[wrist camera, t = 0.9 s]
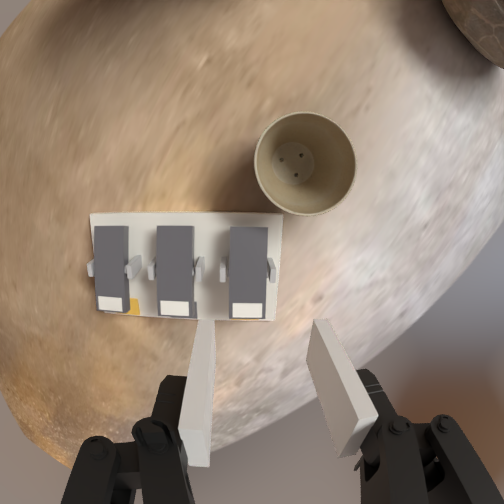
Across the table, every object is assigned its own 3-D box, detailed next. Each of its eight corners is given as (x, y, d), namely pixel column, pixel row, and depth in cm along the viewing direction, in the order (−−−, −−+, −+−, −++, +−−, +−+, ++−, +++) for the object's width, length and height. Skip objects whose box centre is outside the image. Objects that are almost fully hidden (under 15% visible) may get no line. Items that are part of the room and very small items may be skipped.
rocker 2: (158, 226, 30) (154, 225, 28) (196, 226, 30) (194, 225, 29) (159, 312, 31) (155, 315, 29) (196, 313, 31) (194, 318, 29)
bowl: (514, 94, 27) (566, 93, 12) (441, 61, 26) (507, 41, 12) (484, 2, 19) (525, -13, 5) (402, -41, 19) (442, -75, 4)
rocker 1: (98, 226, 30) (92, 225, 28) (130, 226, 30) (125, 225, 28) (101, 307, 30) (95, 310, 28) (131, 310, 30) (126, 313, 29)
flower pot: (273, 219, 33) (283, 234, 26) (235, 143, 30) (234, 137, 23) (345, 184, 32) (371, 190, 25) (311, 110, 29) (331, 97, 22)
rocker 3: (228, 226, 31) (228, 226, 29) (268, 227, 31) (269, 227, 29) (227, 314, 31) (226, 319, 29) (265, 315, 31) (267, 319, 30)
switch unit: (93, 212, 31) (74, 220, 26) (281, 213, 32) (289, 221, 28) (106, 309, 35) (93, 326, 31) (274, 316, 37) (279, 336, 32)
